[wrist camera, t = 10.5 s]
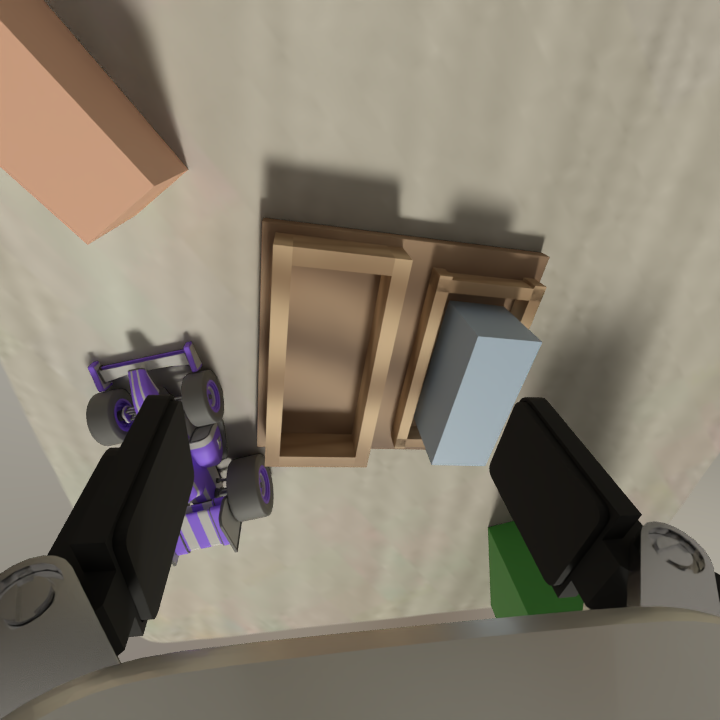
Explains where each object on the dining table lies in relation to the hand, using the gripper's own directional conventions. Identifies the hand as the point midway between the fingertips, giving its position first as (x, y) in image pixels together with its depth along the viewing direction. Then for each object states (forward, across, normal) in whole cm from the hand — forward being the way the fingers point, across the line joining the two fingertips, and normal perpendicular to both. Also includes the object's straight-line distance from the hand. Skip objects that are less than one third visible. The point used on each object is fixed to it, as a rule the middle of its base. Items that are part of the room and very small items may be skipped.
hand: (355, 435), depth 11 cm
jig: (+16, -5, +7) cm, 18 cm away
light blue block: (+15, -10, +7) cm, 19 cm away
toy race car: (+16, +10, +14) cm, 24 cm away
